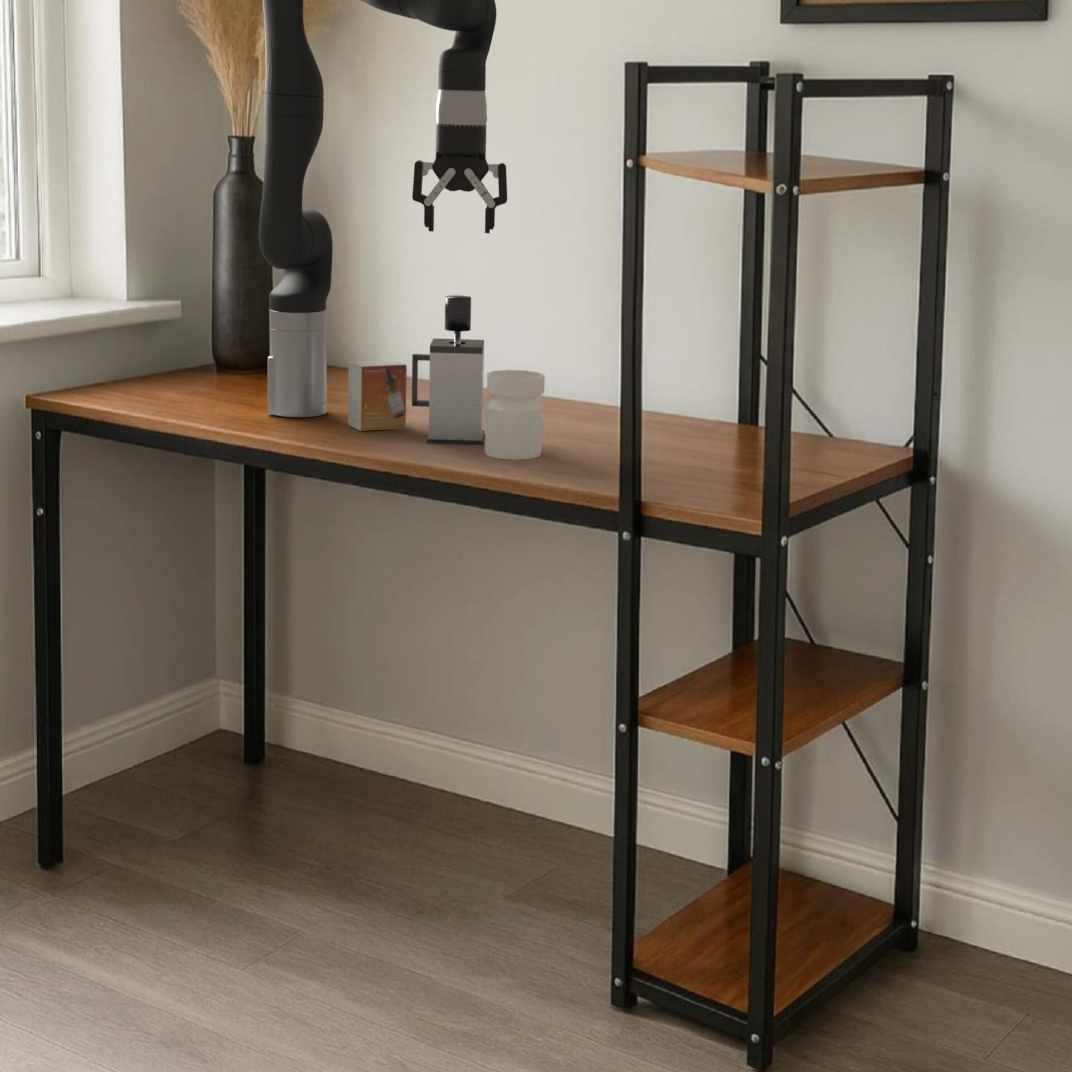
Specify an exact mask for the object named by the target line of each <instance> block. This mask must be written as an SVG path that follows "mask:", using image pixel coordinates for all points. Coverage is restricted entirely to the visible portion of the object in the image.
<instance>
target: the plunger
mask: <svg viewBox="0 0 1072 1072" xmlns="http://www.w3.org/2000/svg"><path fill="white" fill-rule="evenodd" d="M471 321H472V297H471V296H469V295H459V294H455V295H454V294H452V295H445V297H444V330H445V331H448V332H454V335H453V337H454V338H453V339H454V344H461V339H462V332H469V331H471V330H472V328H471V325H472V322H471Z"/></svg>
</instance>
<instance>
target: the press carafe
mask: <svg viewBox="0 0 1072 1072" xmlns="http://www.w3.org/2000/svg"><path fill="white" fill-rule="evenodd" d="M411 357H412V359H411V360H412V361H411V364H412V365H411V366H412V367H411V369H412V370H411V371H412V372H411V374H412V375H411V376H412V377H411V407H425V408H426V407H427V408H428V434H427V438H426V443H427V444H444V445H445V444H447V445H449V444H450V445H478V446H479V445H480V446H481V445H482V446H483V445H484V444H483V443H484V439H485V429H483V424H484V423H483V419H484V418H483V417H484V413H483V412H484V408H483V407H484V373H485V372H484V370H485V369H484V368H485V366H484V365H485V361H484V360H485V340H484V339H467V338H463V339H462V338H461V344H454V338H432V341H431V342H430V345H429V353H428V354H427V353H412V355H411ZM419 361H420V362H421V361H423V362H424V361H427V362H429V380H428V381H429V384H428V385H429V391H428V395H429V396H428V397H429V398H428V399H418V393H419V391H418V390H419V385H418V384H419Z"/></svg>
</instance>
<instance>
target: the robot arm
mask: <svg viewBox="0 0 1072 1072" xmlns="http://www.w3.org/2000/svg"><path fill="white" fill-rule="evenodd" d="M360 1H361V2H363V3H365V4H367V5H370V6H371V7H373V8H375V9H378V10H381V11H383V12H387V13H389V14H393V15H397V16H401V17H405V18H409V19H413V20H418V21H420V22H423V23H425V24H428V25H430V26H432V27H434V28H437V29H442V30H446V31H449V32H450V31H451V32H454V38H453V42H452V45H451V47H450V48H447V49H446V50H444V51H442V52H441V53H440V55H439V59H438V76H437V77H438V78H437V79H438V81H437V82H438V90H437V91H438V92H437V99H436V110H435V111H436V112H435V113H436V115H435V158H434V161H433V162H428V161H423V160H421V159H419V160H416V161H415V162H414V167H413V182H412V194H411V195H412V196H411V197H412V198H411V199H412V200H413V201H414V202H417V203H420V204H422V206H423V210H424V211H423V215H424V216H423V225H424V227H425V228H428V232H434V231H435V205H434V202H435V201H436V200H437V198H438V197H439V195H440V194H441V193H442V191H443V190H444V189H445V190H448V191H449V192H457V191H463V192H466V193H467V192H468V193H469V192H472V191H474V190H475V191H476V192H477V194H478V195H479V196H480V197H481V199H482V201H484V203H485V204H486V207H485V210H484V211H485V212H484V213H485V216H484V218H485V219H484V234H490V233H491V230H494V228H495V222H496V221H495V219H496V216H495V215H496V208H497V207H498V206H501V205H505V204H506V203H508V202H507V201H508V182H507V181H508V180H507V179H508V178H507V177H508V176H507V164H506V163H504V162H501V163H492V164H491V163H490V164H489V163H488V161H487V159H486V158H487V156H486V155H487V121H488V114H487V113H488V112H487V111H488V110H487V109H488V107H487V97H486V87H487V86H486V82H487V81H486V79H487V75H486V71H487V66H486V64H487V63H486V62H487V59H488V56H489V52H490V49H491V46H492V42H493V36H494V32H495V29H496V28H495V27H496V22H497V5H496V1H495V0H360ZM262 8H263V20H264V21H263V22H264V40H265V41H264V42H265V44H264V46H265V47H264V49H265V51H264V52H265V53H264V55H265V57H264V58H265V59H264V60H265V82H264V160H263V161H264V163H263V164H264V168H263V184H262V186H263V187H262V195H261V203H260V213H259V222H258V244H259V248H260V249H259V250H260V251H261V254H262V257H263V258H264V260H265V261H266V262H267V264H269V266H271V267H273V268H275V269H278V270H283V271H284V272H283V273H284V274H283V276H282V279H281V280H280V282H279V283H278V285H276V287H274V288H273V289H272V290H271V291H270V293H269V298H268V306H269V307H268V309H269V311H268V312H269V316H268V318H269V355H268V356H267V413H268V414H267V415H269V416H279V417H285V418H286V417H287V418H310V417H312V418H313V417H317V416H318V417H319V416H323V415H325V414H327V401H328V399H327V299H328V296H329V294H330V292H331V291H330V290H331V287H332V286H331V285H332V272H333V250H334V249H333V235H332V230H331V227H330V224H329V222H328V220H327V219H326V217H325V216H324V215H323V214H321V213H320V212H319V211H317V210H315V209H311V208H303V191H304V183H305V177H306V173H307V170H308V168H309V165H310V163H311V160H312V158H313V155H314V153H315V151H316V149H317V146H318V144H319V141H320V138H321V136H322V132H323V127H324V110H325V109H324V107H325V106H324V104H325V103H324V101H325V98H324V95H325V93H324V92H325V91H324V82H323V81H324V80H323V77H322V74H321V71H320V69H319V66H318V64H317V60H316V57H315V56H314V54H313V52H312V49H311V46H310V44H309V41H308V39H307V36H306V35H307V34H306V29H305V24H304V23H305V21H304V0H262ZM430 170H432V171H433V173H434V174H435V175H436V177H437V179H438V180H439V181H437V183H436V184H435V186H434V187H433V189H432V190H431V191H430V192H429V194H428V195H426V194H423V193H422V192H423V181H424V178H423V177H425V176H427V175H428V174H429V171H430ZM489 172H491V173H492V175H493V178H495V179H497V180H498V182H497V183H498V196H496V197H493V196H492V195H491V193H490V192H489V190H488V188H487V187H486V186H485V184H484V183H483V179H484V178H485V176H486V175H487V174H488V173H489Z"/></svg>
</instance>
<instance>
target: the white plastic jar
mask: <svg viewBox="0 0 1072 1072" xmlns="http://www.w3.org/2000/svg"><path fill="white" fill-rule="evenodd" d="M486 380H487V382H486V383H487V384H486V389H485V390H486V391H485V392H486V393H487V394H488V395H489V396H491V398H493V399H492V400H491V401H489V402H487V403H486V405H485V423H486V426H485V433H484V453H485V455H487V456H488V457H491V458H495V459H500V460H516V461H517V460H519V461H520V460H533V459H536V458H538V457H541V453H542V450H543V448H542V447H543V439H544V406H543V404H542V403H541V402H540V401H539V400H538V398H540V397H541V395H543V394H544V393H545V384H546V383H545V382H546V381H545V380H546V379H545V373H544V374H543V373H541V372H538V371H531V370H525V369H524V370H523V369H521V370H520V369H516V370H515V369H503V370H493V371H490V372H487V373H486Z"/></svg>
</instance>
